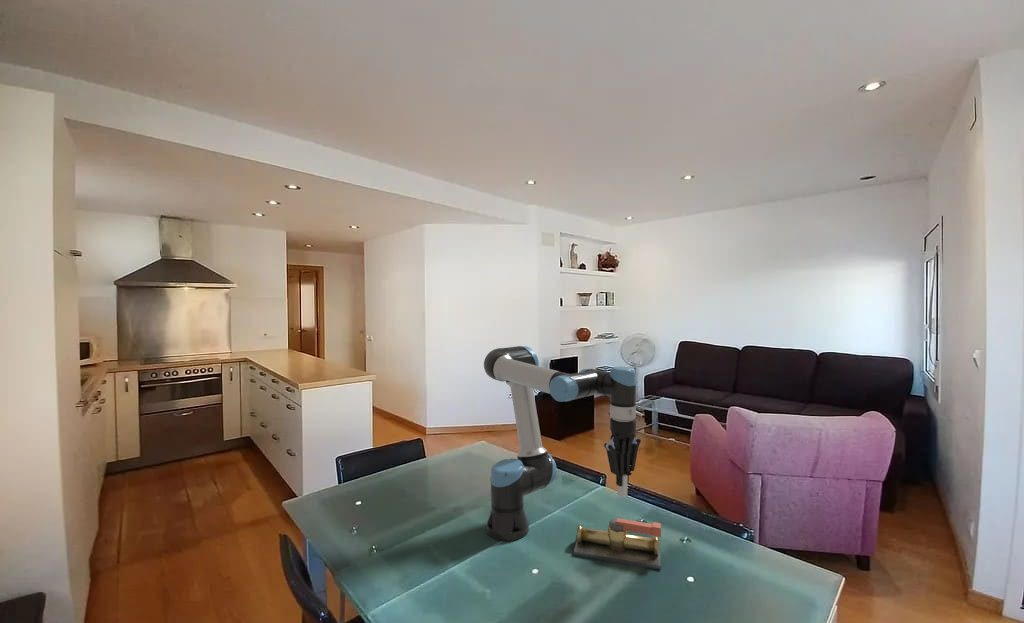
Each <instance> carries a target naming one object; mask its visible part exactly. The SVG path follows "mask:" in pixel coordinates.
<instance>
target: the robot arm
mask: <svg viewBox="0 0 1024 623" xmlns="http://www.w3.org/2000/svg"><path fill="white" fill-rule="evenodd" d="M483 369H484V371H485V372H484V373H486V375H487V376H488V377H489V378H491V379H492V380H495V381H498V382H500V383H501V382H505V384H506V385H508V386H509V387H510V391H511V392H510V393H511V399H512V406H513V411H514V418H515V424H516V425H515V426H516V431H517V437H518V444H519V450H518V453H517V454H516V458H509V459H507V458H505V459H500V460H499V461H497V462H495V464H493V465H492V467H491V471H490V479H489V480H490V511H489V514H488V517H487V520H486V527H485V529H486V533H487V534H488V536H489V537H491V538H492V539H495V540H498V541H504V542H505V541H506V542H508V541H509V542H510V541H516V540H520V539H522V538H524V537H525V536H526V535H527V534H528V533H529V529H530V527H529V525H530V524H529V519H528V515H527V513H526V510H525V507H524V506H525V505H524V504H525V503H524V502H525V500H524V497H525V496H526V495H530V494H531V493H535V492H536V491H539V490H543V489H544V488H545V489H546V488H547V487H549V486H550V485H552V483H553V482H555V480H556V476H557V464H556V461H555V459H554V458H553V457H552V455H551V454H549V453H548V450H547V449H546V448H545V447H544V446H543V442H542V436H541V430H540V423H539V417H538V413H537V412H538V411H537V405H536V400H535V394H534V390H536V391H540V392H541V393H546V394H550V395H551V397H552V398H553V399H554V400H555V401H556V402H561V403H562V402H571V401H573V400H578V399H581V398H587V397H590V396H594V395H599V396H600V395H601V396H603V397H604V396H605V397H609V403H610V404H609V417H610V419H609V430H610V431H611V435H610V440H609V441H608V442H605V443H604V444H603V447H604V449H605V450H606V454H607V460H608V464H609V469H610V473H612V474H613V475H615V483H616V486H617V488H616V490H617V495H618V496H619V497H622V498H624V499H625V498H627V497H628V485H629V483H630V481H629V480H630V478H629V477H630V476H631V475H633V474H632V472H634V471H635V468H636V462H637V456H638V453H639V452H638V450H639V446H640V444H641V442H642V440H641V439H640V438H637V437H636V435H635V433H636V428H637V426H636V424H637V421H636V420H635V419H636V416H637V415H636V414H637V412H636V411H637V410H636V408H637V406H636V405H637V403H636V397H637V394H636V393H637V392H636V390H637V376H636V375H637V374H636V370H635V368H633V367H629V366H613V367H611V368H610V369H609V370H610V371H604V370H599V369H595V368H583V369H581V370H580V371H579V372H576V373H566V372H563V371H562V372H561V371H559V370H555V369H551V368H548V367H543V366H540V363H539V357H538V355H537V353H536V352H535V350H534V349H532V348H531V347H529V346H526V345H525V346H521V345H518V346H510V347H499V348H498V347H497V348H495V349H492V350H491V351H489V352H488V353H487V354H486V356H485V357H484V361H483Z"/></svg>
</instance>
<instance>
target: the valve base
mask: <svg viewBox="0 0 1024 623" xmlns="http://www.w3.org/2000/svg"><path fill="white" fill-rule="evenodd" d="M627 532H628V531H626V530H623V531H614V530H612V529H611V528H610V527H609V524H608V525H607V530H600V529H595V528H589V527H588V528H587V527H583V525H580V524H579V525H577V532H576V542H575V545H574V550H573V555H574V556H577V557H583V558H589V559H594V560H601V561H604V562H605V561H607V562H613V563H618V564H625V565H629V566H636V567H640V568H647V569H652V570H653V569H655V570H659V571H660V570H662V568H661V566H662V564H661V563H662V562H661V554H660V541H659V537H657V536H653V537H649V536H644V535H643V536H642V535H634V534H629V533H627Z"/></svg>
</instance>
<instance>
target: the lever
mask: <svg viewBox="0 0 1024 623" xmlns="http://www.w3.org/2000/svg"><path fill="white" fill-rule="evenodd" d="M661 524H662V523H660V522H654V521H652V523H648V522H643V521H636V520H631V519H623V518H619V517H617V518H613V519H610V520H609V523H608V525H609V527H610V528H611V529H612V530H614V531H623V530H626V531H627V532H632V533H636V534H643V535H648V536H652V537H654V536H657V537H658V538H661V536H662V525H661Z"/></svg>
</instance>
